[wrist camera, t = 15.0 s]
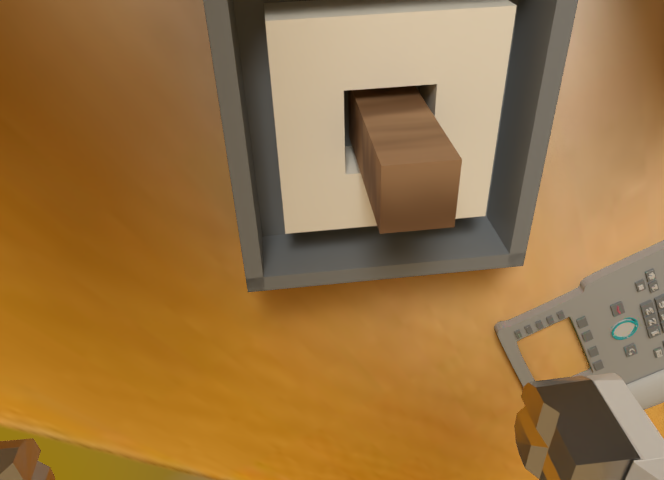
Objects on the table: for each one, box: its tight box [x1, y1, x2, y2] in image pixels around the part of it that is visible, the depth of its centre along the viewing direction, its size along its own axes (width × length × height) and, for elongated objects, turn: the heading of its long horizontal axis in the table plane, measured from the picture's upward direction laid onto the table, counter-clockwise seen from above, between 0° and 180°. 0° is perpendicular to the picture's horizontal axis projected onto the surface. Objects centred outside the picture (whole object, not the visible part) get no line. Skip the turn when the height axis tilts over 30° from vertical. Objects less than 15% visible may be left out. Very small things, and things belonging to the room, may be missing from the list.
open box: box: [203, 0, 578, 292], centre depth 37 cm, size 22×20×6 cm
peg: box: [348, 86, 462, 234], centre depth 34 cm, size 4×4×12 cm
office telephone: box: [494, 240, 664, 410], centre depth 57 cm, size 23×3×20 cm
